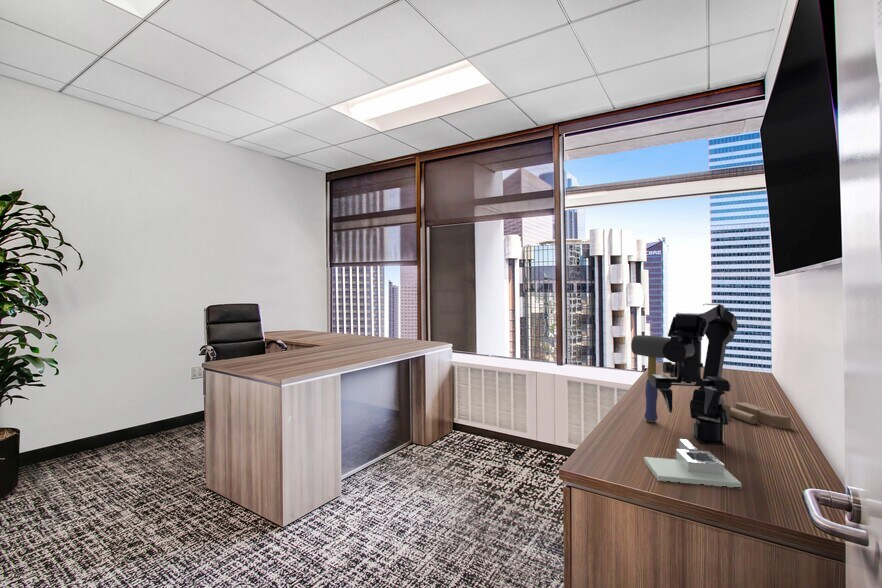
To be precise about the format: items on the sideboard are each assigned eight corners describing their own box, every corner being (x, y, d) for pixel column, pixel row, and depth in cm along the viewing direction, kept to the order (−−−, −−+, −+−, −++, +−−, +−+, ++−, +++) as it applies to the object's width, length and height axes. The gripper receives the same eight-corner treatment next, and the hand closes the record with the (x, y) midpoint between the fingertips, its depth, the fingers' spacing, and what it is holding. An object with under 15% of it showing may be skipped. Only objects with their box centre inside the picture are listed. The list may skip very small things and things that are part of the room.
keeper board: (718, 467, 106) (718, 448, 105) (741, 488, 95) (741, 466, 95) (644, 461, 109) (644, 442, 109) (657, 480, 98) (658, 459, 98)
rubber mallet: (628, 419, 143) (630, 334, 142) (635, 415, 148) (637, 333, 147) (667, 428, 134) (669, 338, 133) (673, 423, 139) (675, 336, 139)
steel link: (667, 448, 115) (667, 438, 114) (698, 451, 113) (698, 440, 113) (688, 471, 100) (688, 459, 100) (724, 474, 99) (724, 462, 99)
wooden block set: (743, 398, 152) (792, 413, 134) (742, 413, 152) (791, 430, 135) (703, 400, 149) (748, 415, 132) (703, 415, 149) (748, 433, 132)
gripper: (712, 353, 119) (711, 406, 119) (643, 351, 122) (643, 402, 123) (732, 360, 108) (731, 418, 108) (656, 358, 111) (655, 415, 112)
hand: (688, 413), depth 113 cm, fingers open, 9 cm apart
